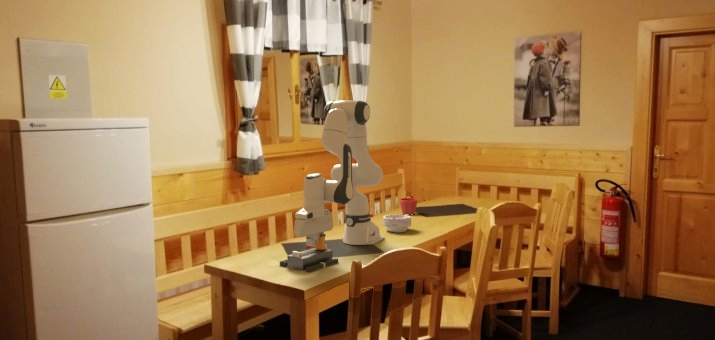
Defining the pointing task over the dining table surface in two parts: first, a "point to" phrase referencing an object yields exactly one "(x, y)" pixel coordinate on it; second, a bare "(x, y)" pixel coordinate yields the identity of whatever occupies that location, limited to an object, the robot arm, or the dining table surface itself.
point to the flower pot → (408, 205)
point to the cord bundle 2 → (321, 265)
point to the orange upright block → (321, 242)
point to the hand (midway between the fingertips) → (314, 244)
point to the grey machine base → (308, 258)
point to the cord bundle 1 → (284, 263)
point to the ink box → (309, 243)
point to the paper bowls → (397, 222)
